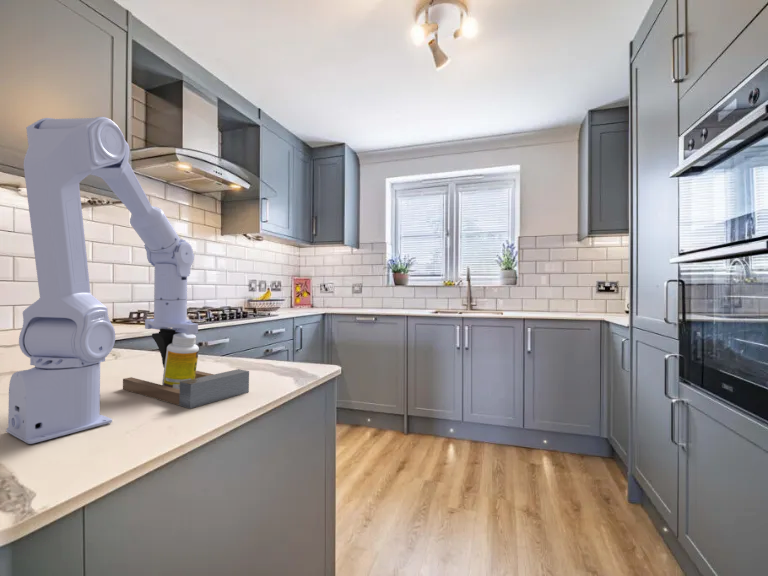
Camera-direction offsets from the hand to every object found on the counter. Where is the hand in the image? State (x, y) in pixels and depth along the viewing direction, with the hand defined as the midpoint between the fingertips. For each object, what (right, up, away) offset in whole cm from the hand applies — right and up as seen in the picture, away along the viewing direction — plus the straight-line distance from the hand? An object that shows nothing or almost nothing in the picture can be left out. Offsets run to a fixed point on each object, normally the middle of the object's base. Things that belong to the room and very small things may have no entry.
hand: (170, 367), depth 77 cm
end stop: (+12, -4, -7) cm, 15 cm away
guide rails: (+3, -4, -2) cm, 5 cm away
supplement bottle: (+2, -4, -2) cm, 5 cm away
